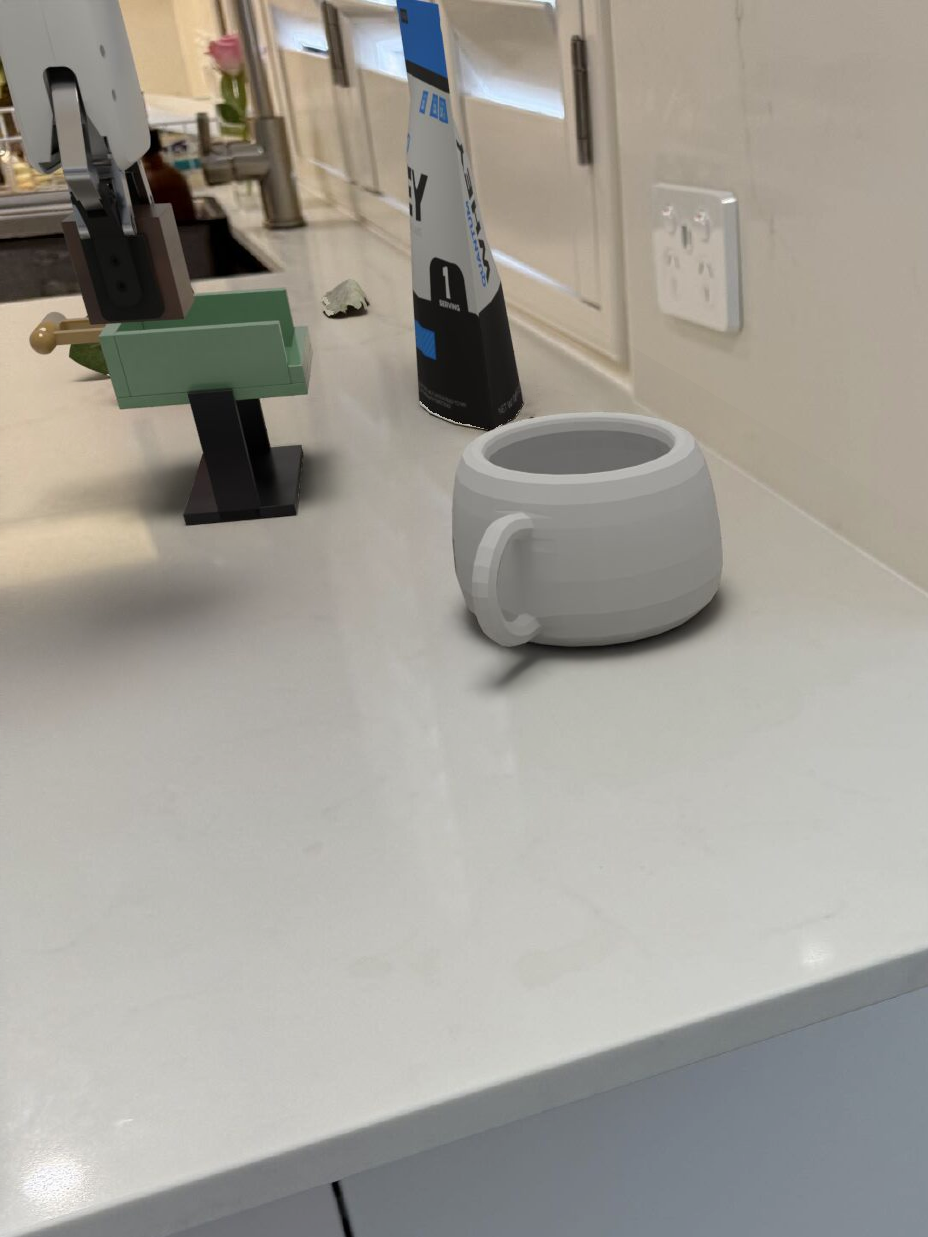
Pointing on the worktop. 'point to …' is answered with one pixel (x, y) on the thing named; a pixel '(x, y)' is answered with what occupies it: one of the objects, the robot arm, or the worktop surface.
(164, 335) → the dish
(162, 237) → the block
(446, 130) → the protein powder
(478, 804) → the worktop surface
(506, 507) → the mug
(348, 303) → the grey jagged shell
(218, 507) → the base
